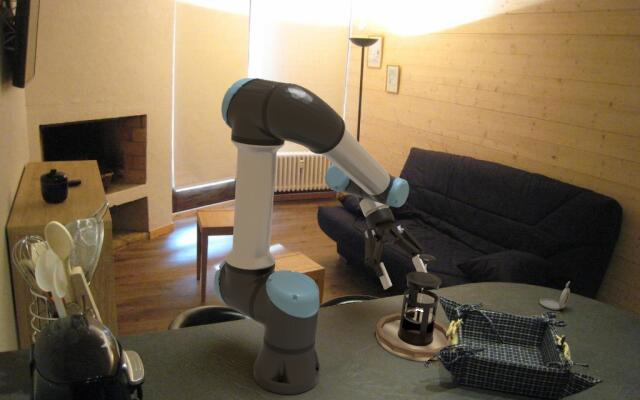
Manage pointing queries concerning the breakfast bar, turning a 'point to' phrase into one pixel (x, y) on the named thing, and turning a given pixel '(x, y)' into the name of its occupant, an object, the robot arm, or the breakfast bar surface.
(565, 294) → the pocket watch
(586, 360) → the breakfast bar surface
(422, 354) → the ring trivet
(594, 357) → the breakfast bar surface
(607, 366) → the breakfast bar surface
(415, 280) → the french press
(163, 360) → the breakfast bar surface
